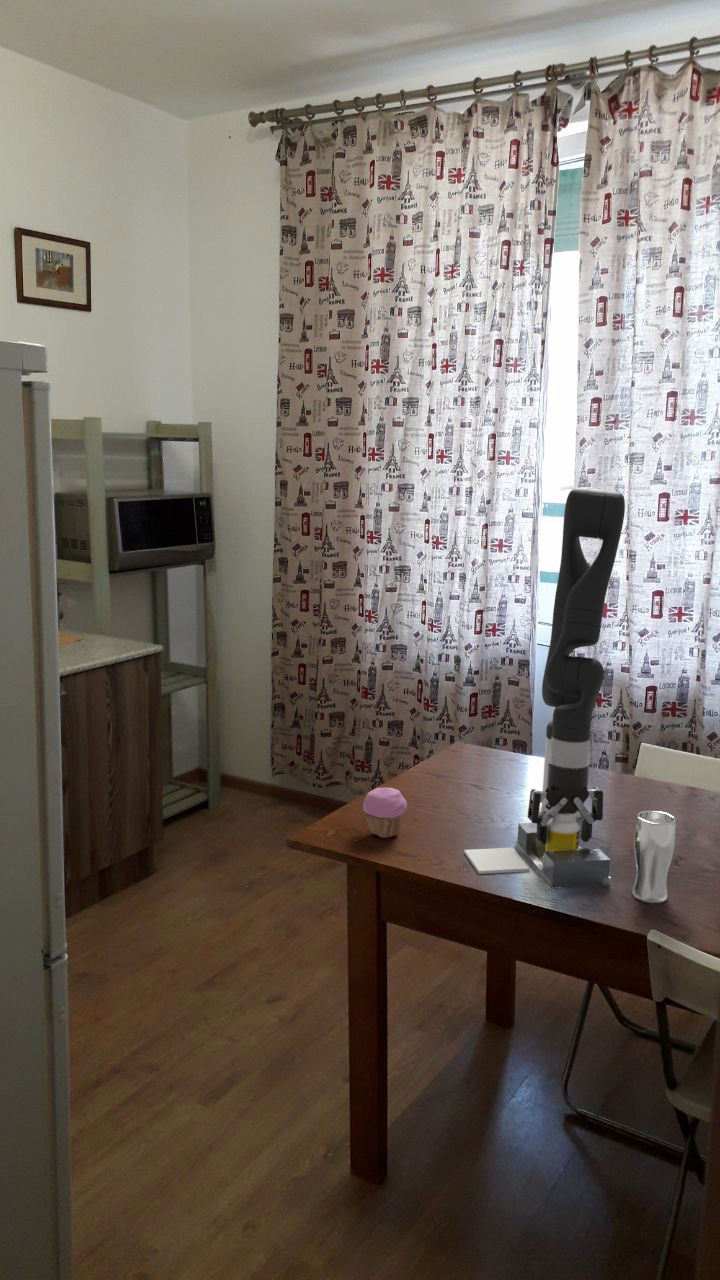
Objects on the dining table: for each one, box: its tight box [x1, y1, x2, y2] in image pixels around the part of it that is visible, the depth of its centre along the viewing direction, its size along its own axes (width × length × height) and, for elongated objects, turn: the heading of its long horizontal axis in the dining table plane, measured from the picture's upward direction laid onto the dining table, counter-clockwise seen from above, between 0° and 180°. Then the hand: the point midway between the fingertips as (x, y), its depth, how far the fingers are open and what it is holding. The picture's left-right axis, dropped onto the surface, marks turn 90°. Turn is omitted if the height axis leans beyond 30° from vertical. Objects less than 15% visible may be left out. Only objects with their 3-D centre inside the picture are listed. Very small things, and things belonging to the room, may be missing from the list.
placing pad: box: [463, 847, 531, 875], centre depth 193 cm, size 10×10×1 cm
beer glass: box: [632, 810, 677, 904], centre depth 179 cm, size 7×7×15 cm
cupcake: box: [362, 787, 408, 839], centre depth 204 cm, size 9×9×10 cm
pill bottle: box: [545, 812, 581, 852], centre depth 191 cm, size 6×6×11 cm
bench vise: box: [514, 822, 612, 889], centre depth 192 cm, size 19×12×5 cm, turn 10°
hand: (563, 841), depth 191 cm, fingers open, 8 cm apart
